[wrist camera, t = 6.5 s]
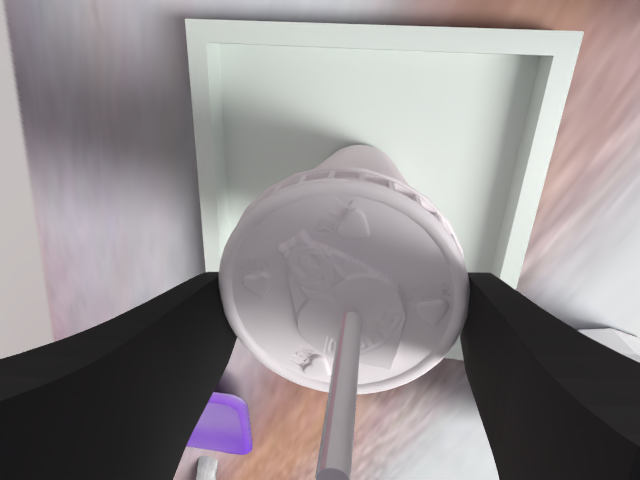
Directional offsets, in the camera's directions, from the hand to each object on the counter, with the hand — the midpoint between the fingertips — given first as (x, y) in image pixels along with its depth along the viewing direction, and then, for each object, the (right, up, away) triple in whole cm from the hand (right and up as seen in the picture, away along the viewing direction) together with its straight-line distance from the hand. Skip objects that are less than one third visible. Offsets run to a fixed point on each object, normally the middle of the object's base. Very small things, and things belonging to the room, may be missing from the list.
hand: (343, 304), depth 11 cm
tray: (+1, +4, +9) cm, 9 cm away
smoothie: (+1, +4, +8) cm, 9 cm away
